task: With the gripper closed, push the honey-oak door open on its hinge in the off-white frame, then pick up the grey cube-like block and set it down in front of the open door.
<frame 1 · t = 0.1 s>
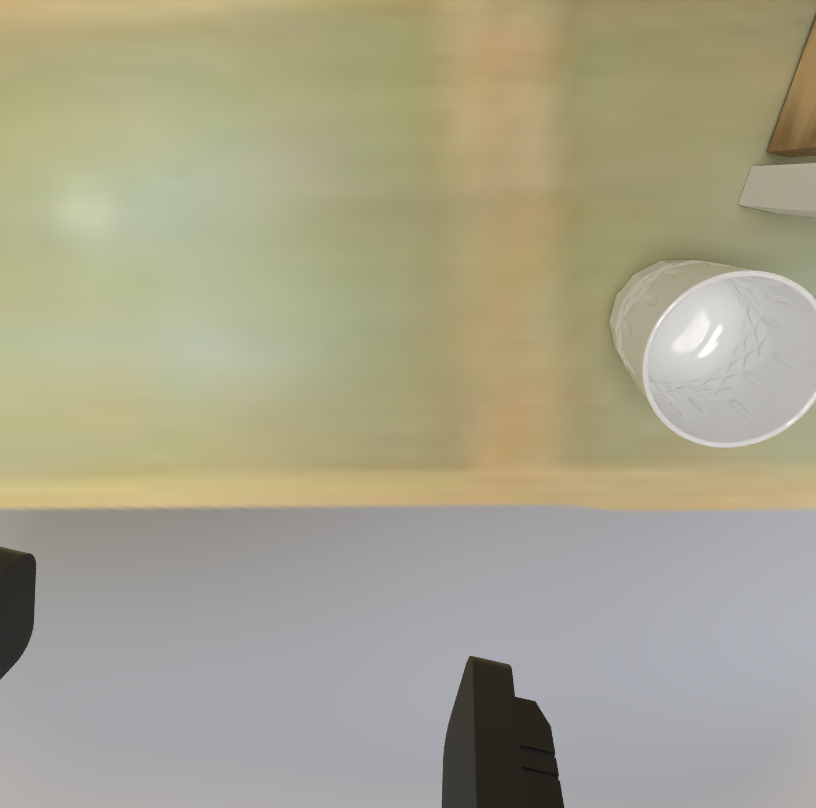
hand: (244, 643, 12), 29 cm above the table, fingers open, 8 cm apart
white cup: (667, 317, 39), on the table
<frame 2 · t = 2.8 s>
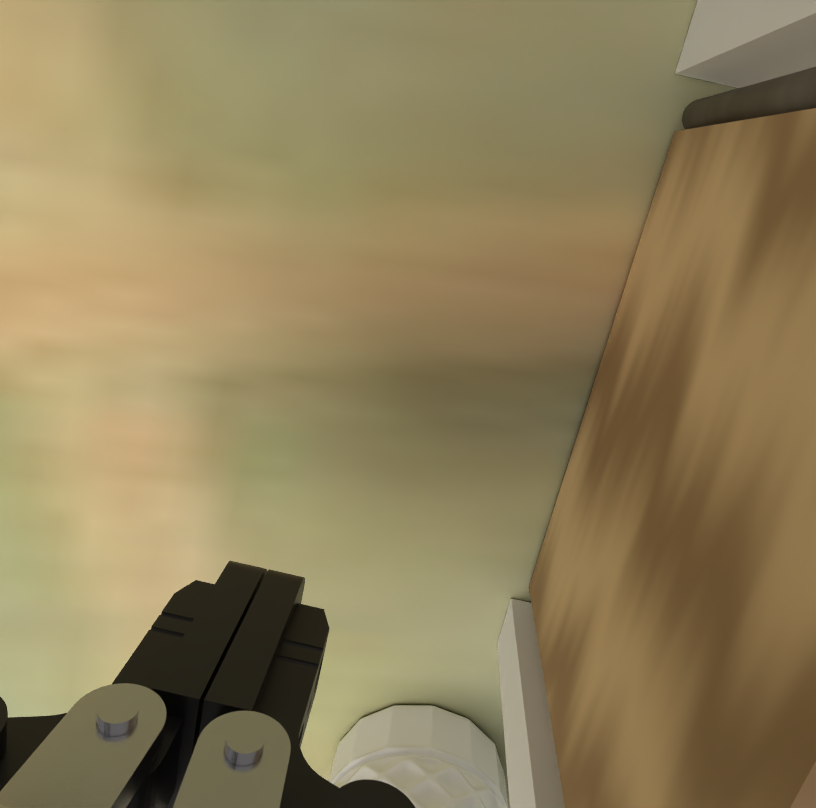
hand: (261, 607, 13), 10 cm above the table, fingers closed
white cup: (418, 764, 27), on the table
door frame: (699, 117, 19), on the table
door: (722, 484, 14), point 8 cm above the table, hinge at 0.0°
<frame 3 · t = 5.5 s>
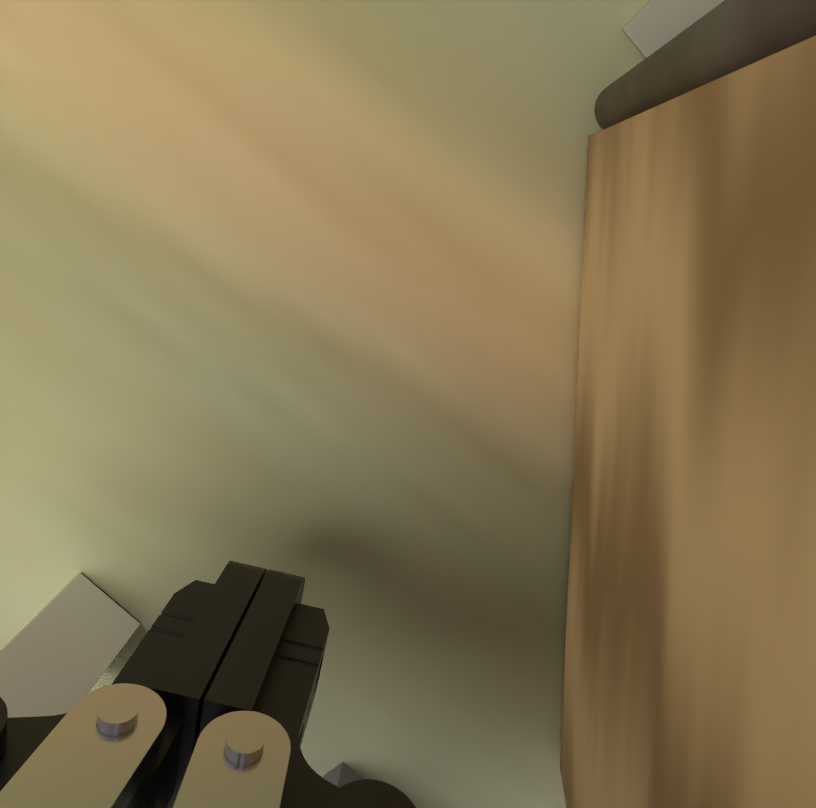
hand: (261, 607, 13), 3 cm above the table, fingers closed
door frame: (618, 108, 13), on the table
door: (771, 726, 8), point 8 cm above the table, hinge at 47.4°, touching hand
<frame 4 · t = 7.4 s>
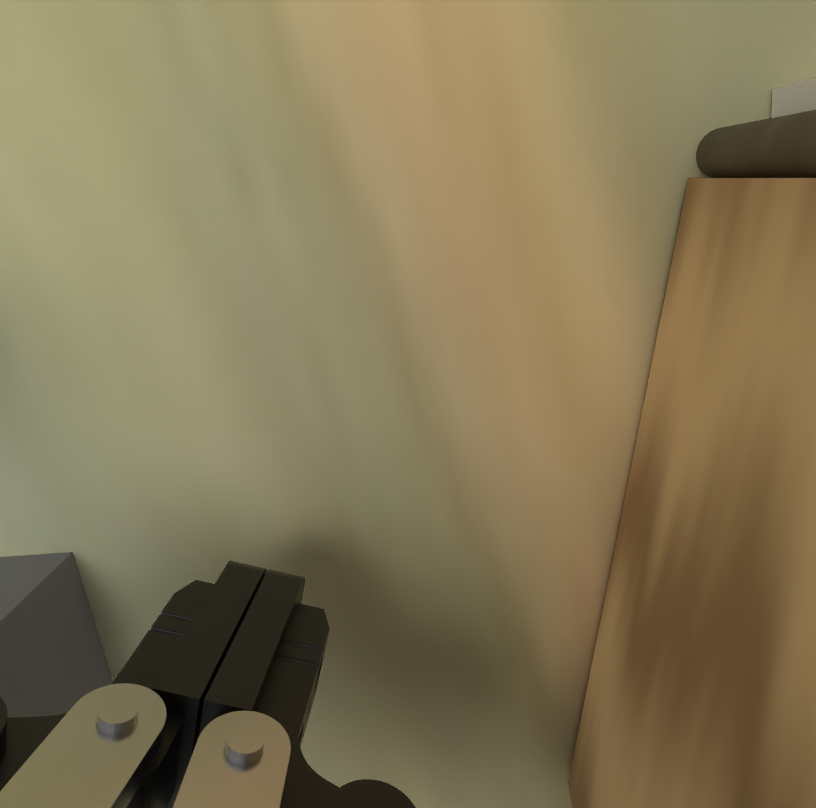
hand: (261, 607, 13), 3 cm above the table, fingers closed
door frame: (720, 153, 13), on the table
grey cube-like block: (10, 639, 18), on the table
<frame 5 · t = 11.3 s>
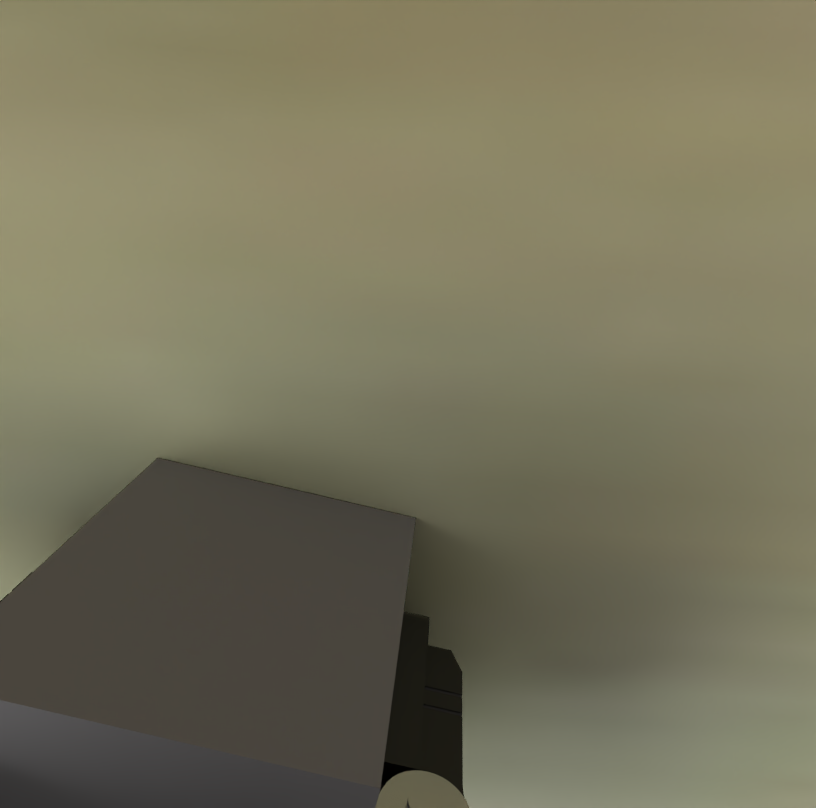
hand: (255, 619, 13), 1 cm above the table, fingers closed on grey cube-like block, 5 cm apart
grey cube-like block: (267, 598, 14), on the table, touching gripper
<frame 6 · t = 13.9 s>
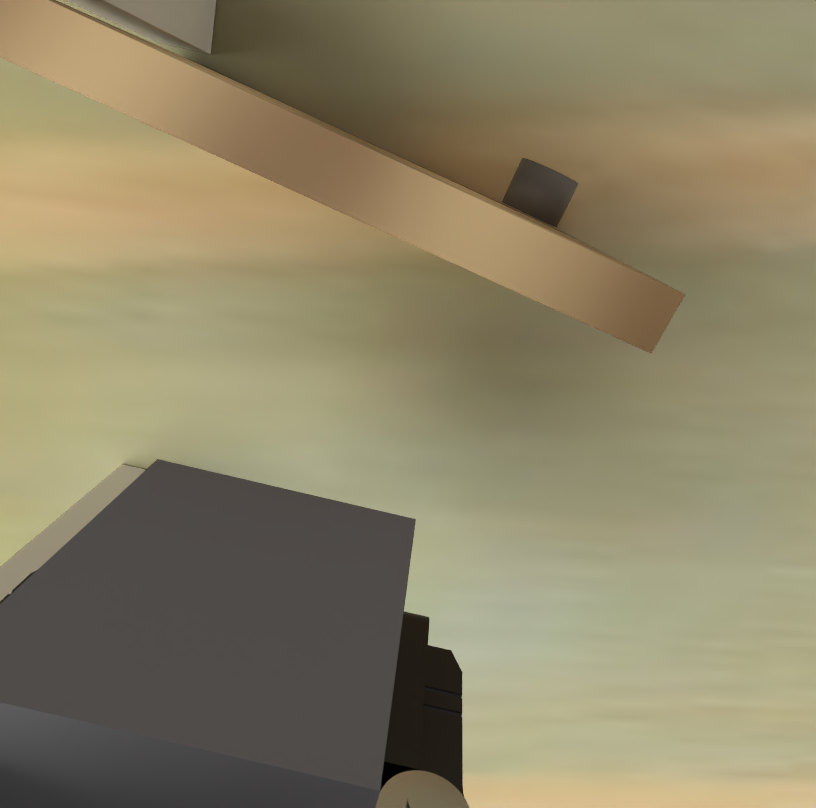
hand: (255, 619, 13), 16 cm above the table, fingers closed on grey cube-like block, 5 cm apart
door frame: (181, 74, 25), on the table
door: (342, 130, 18), point 8 cm above the table, hinge at 78.5°
grey cube-like block: (266, 599, 14), point 15 cm above the table, touching gripper
when the fingers open (2 cm above the table, at t = 16.8 s): grey cube-like block drops 1 cm, on the table.
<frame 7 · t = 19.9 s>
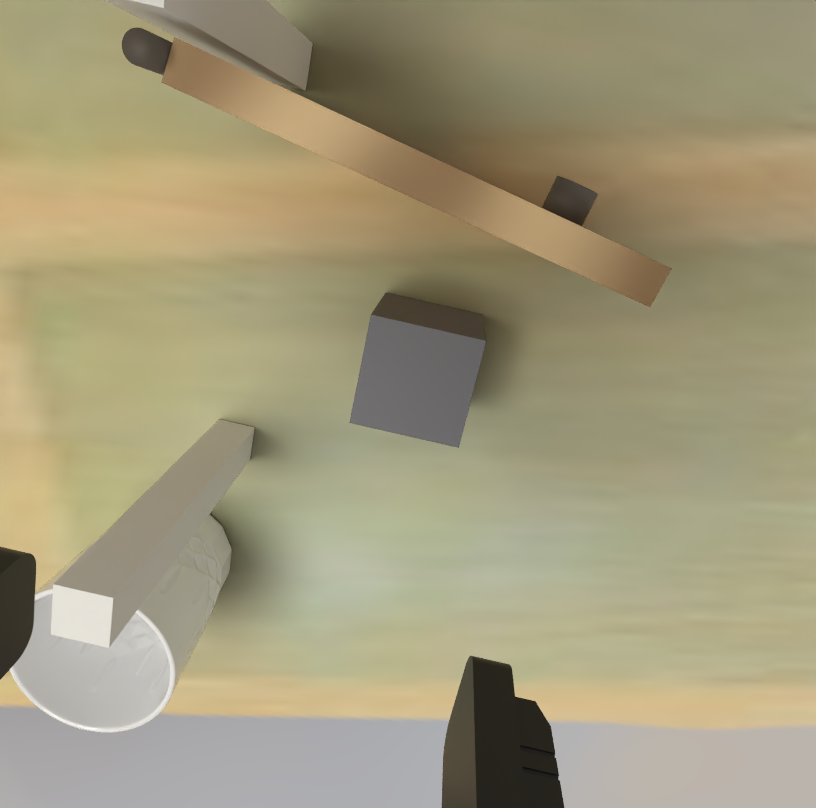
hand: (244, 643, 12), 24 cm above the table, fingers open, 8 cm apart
white cup: (178, 546, 40), on the table
door frame: (281, 106, 32), on the table
door: (425, 155, 25), point 8 cm above the table, hinge at 78.5°
grey cube-like block: (423, 350, 35), on the table
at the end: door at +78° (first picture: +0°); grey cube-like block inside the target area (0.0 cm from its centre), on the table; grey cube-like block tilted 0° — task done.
